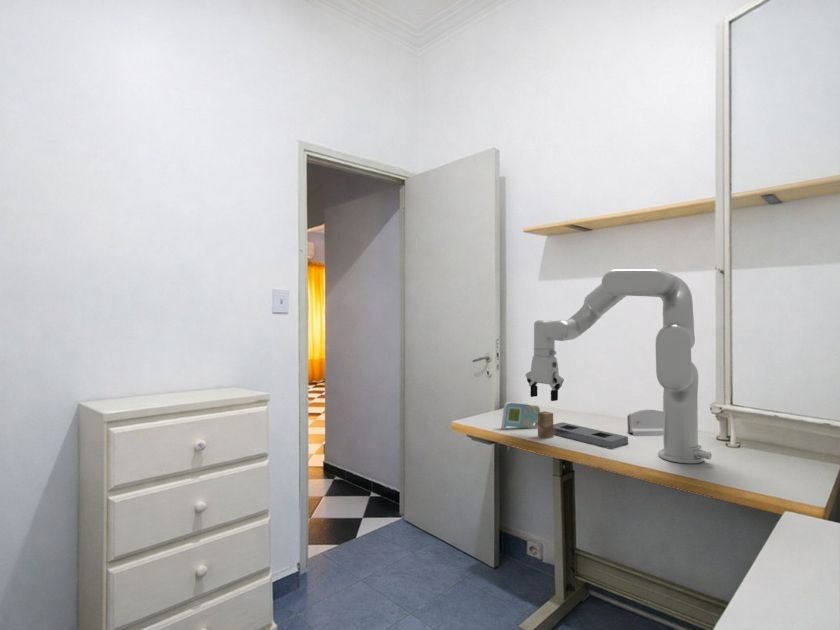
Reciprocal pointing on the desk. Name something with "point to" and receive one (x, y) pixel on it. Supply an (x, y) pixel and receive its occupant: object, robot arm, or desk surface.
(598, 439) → the grey slotted board
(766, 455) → the desk surface
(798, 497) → the desk surface
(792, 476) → the desk surface
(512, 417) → the handheld gaming console
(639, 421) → the grey curved-top block
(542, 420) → the walnut block
